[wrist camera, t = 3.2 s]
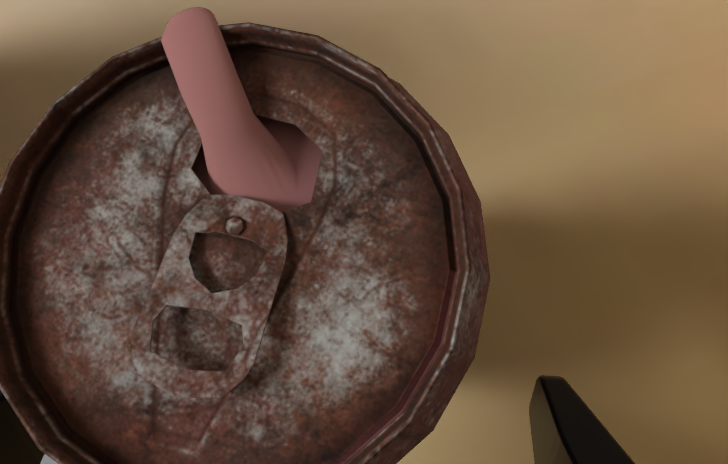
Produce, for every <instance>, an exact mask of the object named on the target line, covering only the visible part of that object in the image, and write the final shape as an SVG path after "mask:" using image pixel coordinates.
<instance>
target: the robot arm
mask: <svg viewBox="0 0 728 464" xmlns="http://www.w3.org/2000/svg"><path fill="white" fill-rule="evenodd" d="M529 416H530V426H531V434H532V443H533V452H534V461H535V464H635V463H634V462H633V461H632V460H631V458H630V457H629V456H628V455H627V453H626V452H625V451H624V450H623V449H622V447H621V446H620V445H619V444H618V443H617V441H616V440H615V439H614V438H613V437H612V435H611V434H610V433H609V432H608V431H607V429H606V428H605V427H604V426H603V425H602V423H601V422H600V421H599V420H598V419H597V417H596V416H595V415H594V414H593V413H592V411H591V410H590V409H589V408H588V407H587V405H586V404H585V403H584V402H583V401H582V399H581V398H580V397H579V396H578V395H577V393H576V392H575V391H574V390H573V389H572V387H571V386H570V385H569V384H568V383H567V381H566V380H565V379H563V378H562V377H559V376H544V375H542V376H539V377H538V378H537V380H536V384H535V387H534V391H533V394H532V398H531V401H530V407H529ZM43 456H44V453H43V452H42V451H40V450H39V449H38V447H37V446H36V444H35V442H34V441H33V439H32V438H31V436H30V435H29V433H28V432H27V430H26V429H25V427H24V425H23V424H22V422H21V421H20V419H19V418H18V416H17V415H16V413H15V412H14V410H13V408H12V407H11V405H10V404H9V402H8V401H7V399H6V398H5V396H4V395H3V393H2V391H1V390H0V464H40V463H41V461H42V459H43Z"/></svg>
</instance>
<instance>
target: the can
mask: <svg viewBox="0 0 728 464" xmlns="http://www.w3.org/2000/svg"><path fill="white" fill-rule="evenodd" d="M489 282H490V274H489V266H488V258H487V249H486V241H485V233H484V225H483V217H482V209H481V202H480V199H479V197H478V195H477V193H476V191H475V189H474V187H473V185H472V183H471V181H470V178H469V176H468V174H467V172H466V170H465V168H464V166H463V164H462V162H461V159H460V157H459V155H458V153H457V151H456V149H455V147H454V145H453V143H452V140H451V138H450V136H449V135H448V134H447V133H446V131H445V130H444V129H443V128H442V127H441V126H440V125H439V124H438V123H437V122H436V121H435V120H434V119H433V118H432V117H431V116H430V115H429V114H428V113H427V112H426V111H425V110H424V108H423V107H422V106H421V105H420V104H419V103H418V102H417V101H416V100H415V99H414V98H413V97H412V96H411V95H410V94H409V93H408V92H407V91H406V90H405V89H404V88H403V87H402V85H401V84H400V83H398V82H396V81H394V80H392V79H390V78H388V77H387V75H386V74H385V73H384V72H383V71H382V70H381V69H379V68H377V67H376V66H374V65H372V64H370V63H368V62H366V61H364V60H363V59H361V58H359V57H357V56H355V55H353V54H351V53H350V52H348V51H346V50H344V49H342V48H340V47H338V46H336V45H335V44H333V43H331V42H329V41H327V40H325V39H323V38H322V37H320V36H318V35H312V34H307V33H302V32H296V31H291V30H286V29H281V28H275V27H270V26H265V25H259V24H254V23H239V24H230V25H221V26H219V25H218V23H217V20H216V18H215V16H214V14H213V13H212V12H211V11H210V10H208V9H206V8H201V7H196V8H189V9H186V10H183V11H181V12H179V13H177V14H176V15H175V16H173V17H172V18H171V19H170V21H169V22H168V24H167V26H166V29H165V31H164V34H163V36H162V37H160V38H157V39H155V40H153V41H150V42H148V43H145V44H143V45H140V46H138V47H135V48H133V49H131V50H128V51H126V52H123V53H121V54H118V55H116V56H113V57H111V58H110V59H109V60H107V61H106V62H105V63H104V64H102V65H101V66H100V67H98V68H97V69H96V70H95V71H93V72H92V73H91V74H89V75H88V76H87V77H86V78H84V79H83V80H82V81H80V82H79V83H78V84H77V85H75V86H74V87H73V88H71V89H70V90H69V91H68V92H66V93H65V94H64V95H62V96H61V97H60V98H59V99H57V100H56V101H55V102H54V103H53V104H52V105H51V107H50V108H49V109H48V111H47V112H46V114H45V115H44V116H43V118H42V119H41V120H40V122H39V123H38V124H37V126H36V127H35V128H34V130H33V131H32V132H31V134H30V135H29V136H28V138H27V139H26V141H25V142H24V143H23V145H22V146H21V147H20V149H19V150H18V151H17V153H16V154H15V155H14V157H13V158H12V159H11V161H10V162H9V165H8V168H7V170H6V173H5V176H4V178H3V181H2V184H1V186H0V390H1V391H2V393H3V395H4V396H5V398H6V399H7V401H8V402H9V404H10V405H11V407H12V408H13V410H14V412H15V413H16V415H17V416H18V418H19V419H20V421H21V422H22V424H23V425H24V427H25V429H26V430H27V432H28V433H29V435H30V436H31V438H32V439H33V441H34V442H35V444H36V446H37V447H38V449H39V450H40V451H42V452H43V453H44V454H46V455H47V456H48V457H50V458H51V459H52V460H54V461H55V462H56V463H58V464H396V463H397V462H398V461H400V460H401V459H402V458H403V457H404V456H405V455H406V454H407V453H409V452H410V451H411V450H412V449H413V448H414V447H415V446H416V445H417V444H419V443H420V442H421V441H422V440H423V439H424V438H425V437H426V436H427V435H429V434H430V433H431V432H432V431H433V430H434V428H435V426H436V424H437V423H438V421H439V419H440V417H441V416H442V414H443V412H444V410H445V409H446V407H447V405H448V403H449V401H450V400H451V398H452V396H453V394H454V393H455V391H456V389H457V387H458V386H459V384H460V382H461V380H462V379H463V377H464V375H465V373H466V372H467V370H468V368H469V366H470V365H471V363H472V361H473V359H474V357H475V352H476V347H477V342H478V337H479V332H480V327H481V322H482V317H483V312H484V307H485V302H486V297H487V292H488V287H489Z"/></svg>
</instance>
